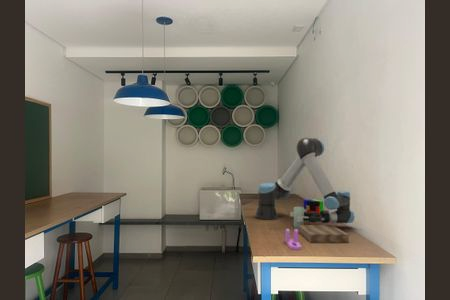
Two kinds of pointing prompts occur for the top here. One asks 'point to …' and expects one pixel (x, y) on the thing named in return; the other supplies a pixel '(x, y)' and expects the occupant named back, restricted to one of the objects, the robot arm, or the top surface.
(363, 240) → the top surface
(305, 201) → the puzzle toy
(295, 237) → the bracket
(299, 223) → the green post
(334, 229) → the walnut base
